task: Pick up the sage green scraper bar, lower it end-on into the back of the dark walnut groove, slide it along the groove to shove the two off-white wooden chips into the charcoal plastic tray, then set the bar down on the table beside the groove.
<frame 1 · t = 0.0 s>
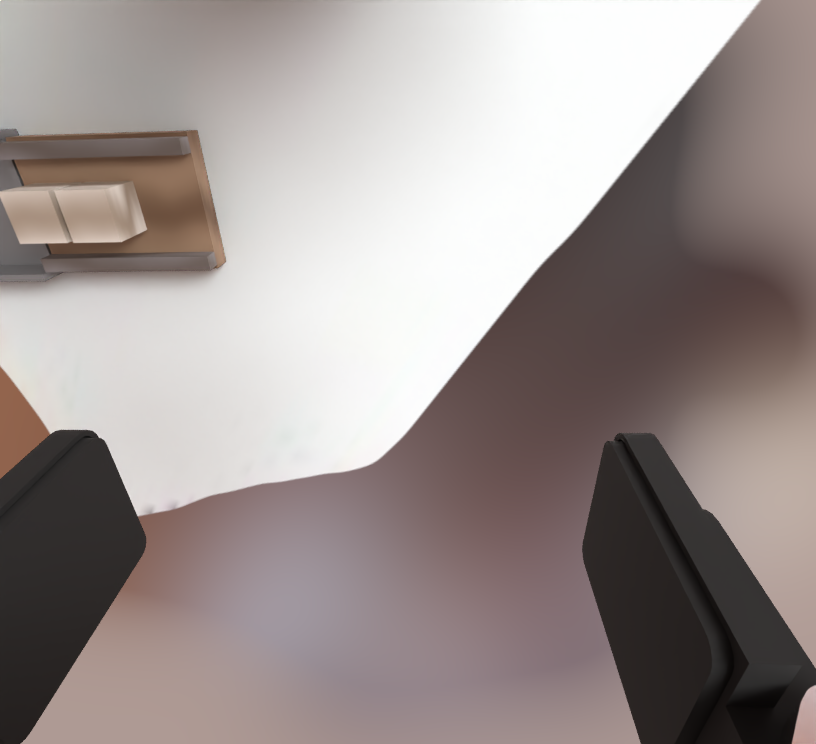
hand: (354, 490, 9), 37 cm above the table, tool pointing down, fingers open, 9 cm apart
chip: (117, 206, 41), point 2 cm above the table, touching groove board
groove board: (130, 201, 43), on the table
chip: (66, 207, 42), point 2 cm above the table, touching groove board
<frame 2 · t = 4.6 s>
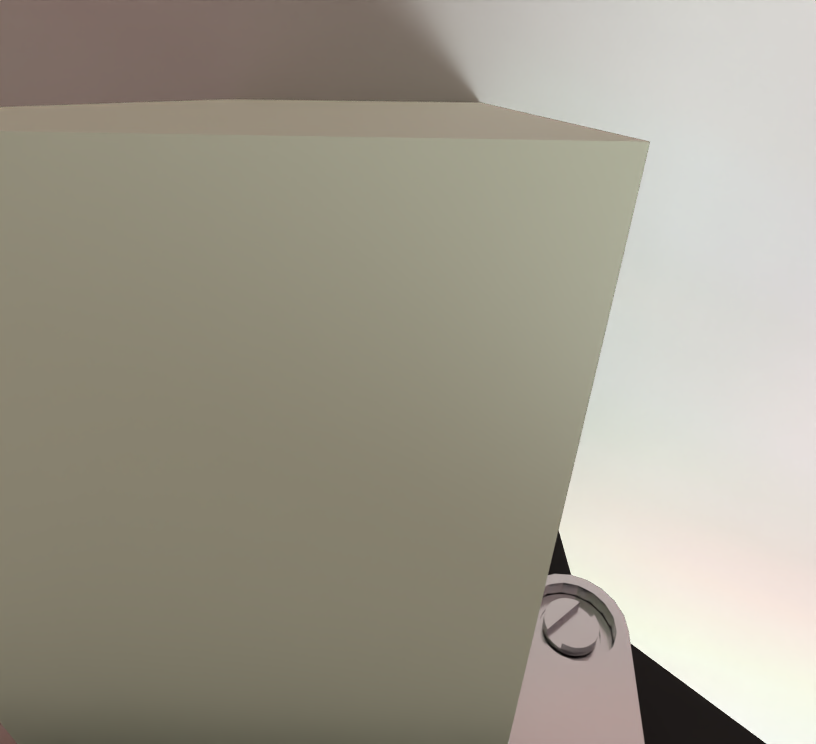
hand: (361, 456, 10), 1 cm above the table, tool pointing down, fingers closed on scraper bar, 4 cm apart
scraper bar: (366, 430, 11), on the table, touching gripper
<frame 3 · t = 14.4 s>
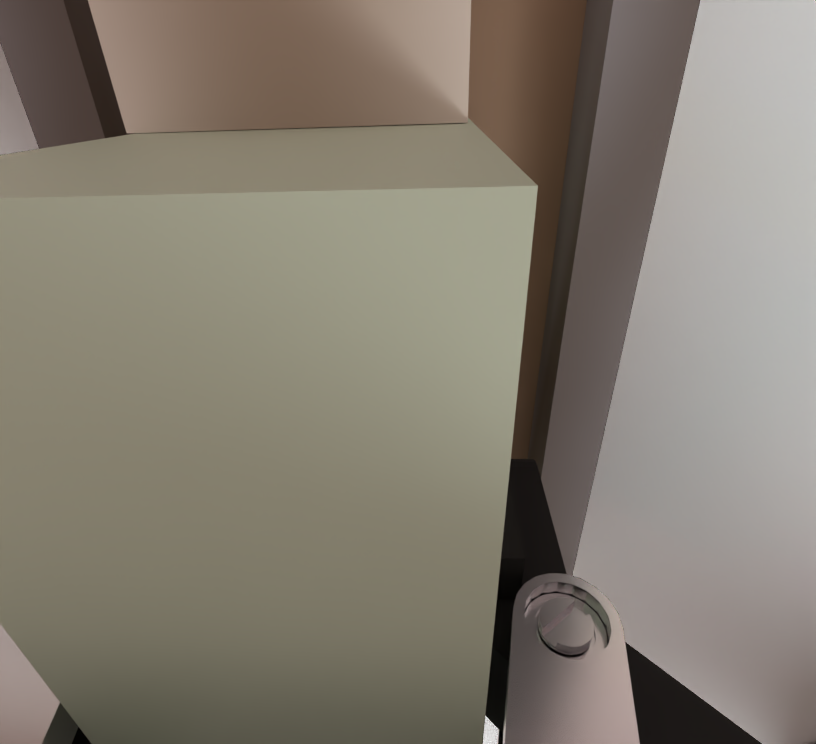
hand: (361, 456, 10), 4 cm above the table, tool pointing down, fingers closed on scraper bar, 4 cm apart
groove board: (379, 320, 13), on the table
scraper bar: (369, 425, 11), point 3 cm above the table, touching gripper
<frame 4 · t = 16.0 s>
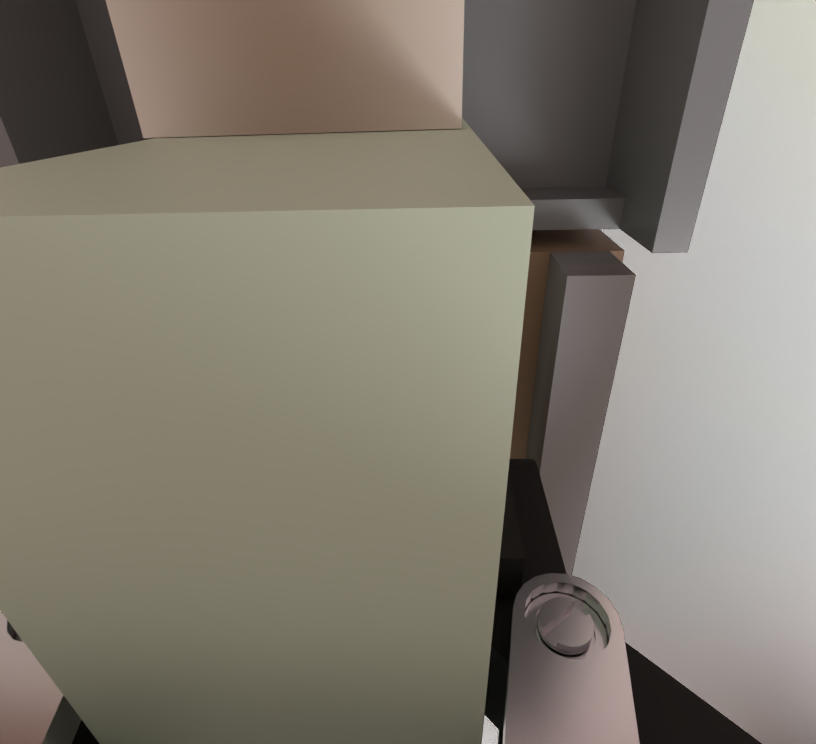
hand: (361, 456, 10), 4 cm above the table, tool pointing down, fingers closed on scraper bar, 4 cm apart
groove board: (385, 464, 16), on the table
scraper bar: (370, 426, 12), point 3 cm above the table, touching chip, gripper
when the fingers open (2 cm above the table, at t = 22.1 s): scraper bar moves 1 cm, on the table.
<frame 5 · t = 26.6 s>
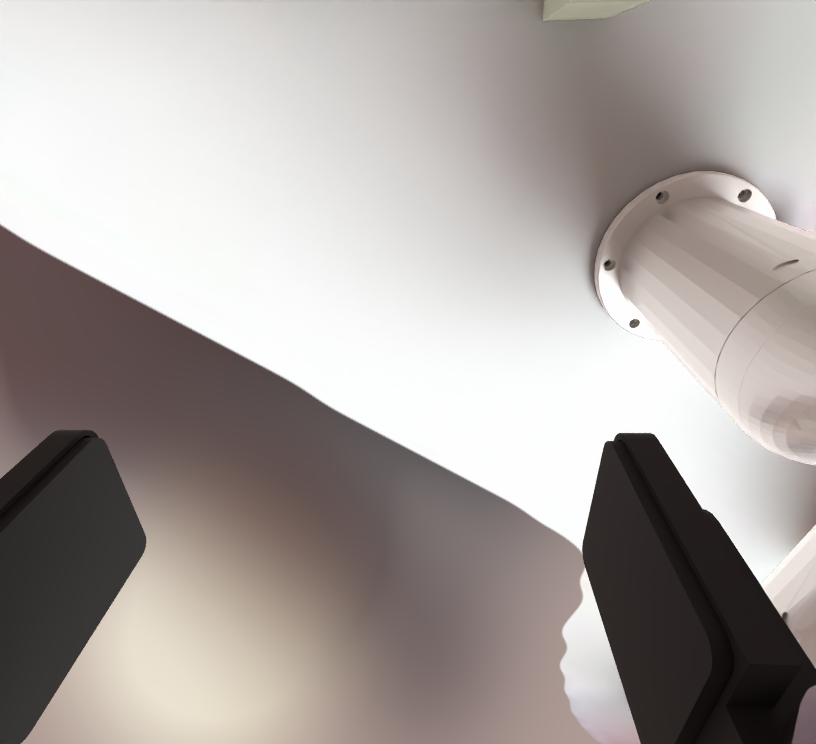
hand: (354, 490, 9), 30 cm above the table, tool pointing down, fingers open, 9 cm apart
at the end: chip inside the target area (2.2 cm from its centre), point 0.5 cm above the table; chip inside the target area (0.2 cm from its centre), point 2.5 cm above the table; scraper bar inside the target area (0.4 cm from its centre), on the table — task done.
